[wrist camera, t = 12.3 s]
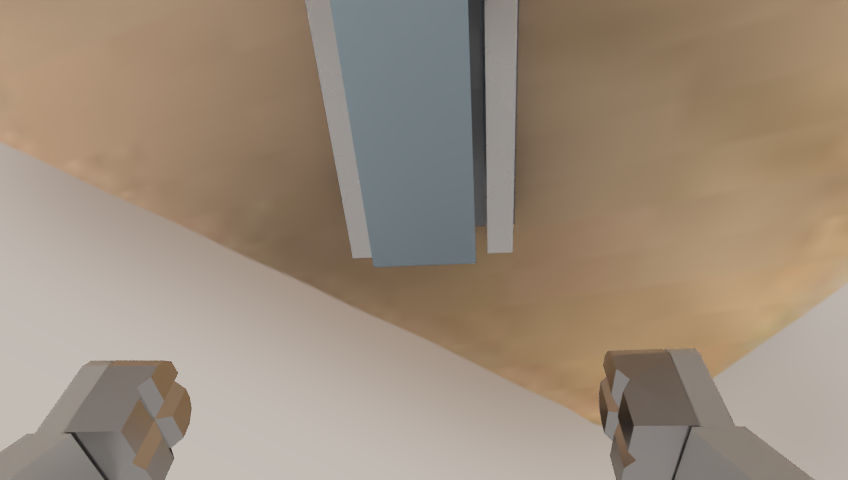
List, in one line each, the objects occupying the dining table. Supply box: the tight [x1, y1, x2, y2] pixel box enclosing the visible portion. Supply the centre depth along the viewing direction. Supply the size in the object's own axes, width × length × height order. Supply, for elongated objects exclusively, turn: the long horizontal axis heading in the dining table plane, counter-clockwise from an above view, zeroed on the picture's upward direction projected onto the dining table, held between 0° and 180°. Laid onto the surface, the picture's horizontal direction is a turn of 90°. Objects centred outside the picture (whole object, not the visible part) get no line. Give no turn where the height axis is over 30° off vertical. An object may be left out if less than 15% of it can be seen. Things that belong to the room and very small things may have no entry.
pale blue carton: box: [330, 0, 476, 267], centre depth 22 cm, size 4×10×7 cm, turn 4°
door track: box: [305, 0, 519, 258], centre depth 24 cm, size 16×8×4 cm, turn 4°
